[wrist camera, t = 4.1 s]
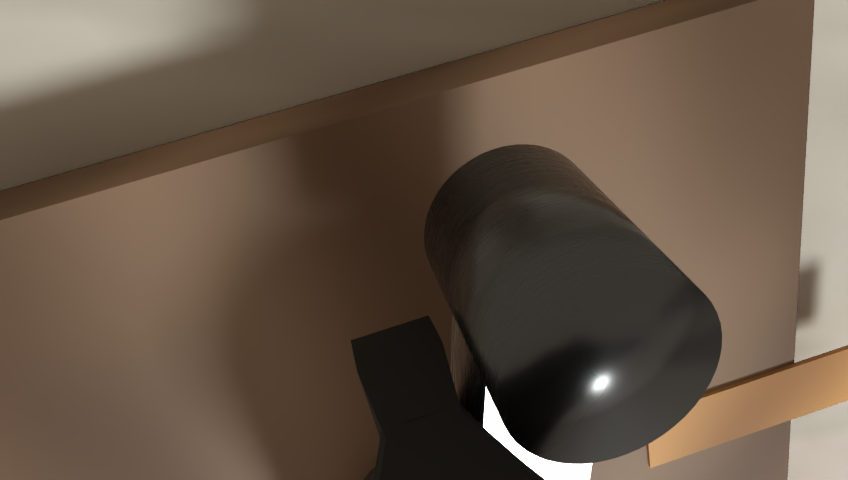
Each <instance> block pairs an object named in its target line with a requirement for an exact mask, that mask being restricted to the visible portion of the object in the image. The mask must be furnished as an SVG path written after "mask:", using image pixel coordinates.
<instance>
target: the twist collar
mask: <svg viewBox="0 0 848 480" xmlns="http://www.w3.org/2000/svg"><path fill="white" fill-rule="evenodd" d="M424 246H425V251H426V256H427V258H428V261H429V264H430V266H431V268H432V270H433V272H434V275H435V277H436V279H437V281H438V283H439V285H440V288H441V290H442V292H443V294H444V296H445V299H446V301H447V303H448V305H449V307H450V309H451V312H452V344H451V374H452V378H453V382H454V385H455V389H456V393H457V396H458V400H459V403H460V404H461V405H462V406H463V407H464V408H465V409H466V410H467V411H468V412H469V413H470V414H471V415H472V416H473V417H474V418H475V419H476V420H477V421H478V422H479V423H480V424H481V425H482V426H483V427H484V428H485V429H486V430H487V431H488V432H489V433H490V434H492V435H493V436H494V437H495V438H496V439H497V440H498V441H500V442H501V443H502V444H503V445H504V446H505V447H506V448H508V449H509V450H510V451H511V452H512V453H513V454H514V455H516V456H517V457H518V458H519V459H520V460H522V461H523V462H524V463H525V464H526V465H528V466H529V467H530V468H531V469H533V470H534V471H535V472H536V473H538V474H539V475H540V476H541V477H543V478H544V479H545V480H590V474H591V467H592V463H596V462H601V461H606V460H610V459H614V458H617V457H620V456H623V455H626V454H628V453H631V452H633V451H636V450H638V449H640V448H642V447H644V446H646V445H648V444H649V443H651V442H653V441H654V440H656V439H658V438H659V437H661V436H662V435H664V434H665V433H666V432H668V431H669V430H670V429H672V428H673V427H674V426H675V425H676V424H678V423H679V422H680V421H681V420H682V419H683V418H684V417H685V416H686V415H687V414H688V413H689V412H690V411H691V410H692V408H693V407H694V406H695V405H696V404H697V402H698V401H699V400H700V398H701V397H702V396H703V394H704V393H705V391H706V389H707V388H708V386H709V384H710V383H711V380H712V378H713V376H714V374H715V372H716V369H717V366H718V363H719V359H720V354H721V349H722V330H721V323H720V320H719V317H718V314H717V311H716V309H715V308H714V306H713V304H712V302H711V301H710V300H709V298H708V297H707V296H706V295H705V294H704V293H703V292H702V291H701V290H700V289H699V288H698V287H697V286H696V285H695V284H694V283H693V282H692V281H691V280H690V279H689V278H688V277H687V276H686V275H685V274H684V273H683V272H682V271H681V270H680V269H679V268H678V267H677V266H676V265H675V264H674V263H673V262H672V261H671V260H670V259H669V258H668V257H667V256H666V255H665V254H664V253H663V252H662V251H661V250H660V249H659V248H658V247H657V246H656V245H655V244H654V243H653V242H652V241H651V240H650V239H649V238H648V237H647V236H646V235H645V234H644V233H643V232H642V231H641V230H640V229H639V228H638V227H637V226H636V225H635V224H634V223H633V222H632V221H631V220H630V219H629V218H628V217H627V216H626V215H625V214H624V213H623V212H622V211H621V210H620V209H619V208H618V207H617V206H616V205H615V204H614V203H613V202H612V201H611V200H610V199H609V198H608V197H607V196H606V195H605V194H604V193H603V192H602V191H601V190H600V189H599V188H598V187H597V186H596V185H595V184H594V183H593V182H592V181H591V180H590V179H589V178H588V177H587V176H586V175H585V174H584V173H583V172H582V171H581V170H580V169H579V168H578V167H577V166H576V165H575V164H574V163H573V162H572V161H571V160H569V159H568V158H567V157H565V156H564V155H562V154H561V153H559V152H557V151H554V150H552V149H550V148H546V147H542V146H538V145H530V144H516V145H509V146H503V147H499V148H496V149H492V150H490V151H487V152H485V153H482V154H480V155H478V156H477V157H475V158H473V159H471V160H469V161H468V162H467V163H465V164H464V165H462V166H461V167H460V168H459V169H457V170H456V171H455V172H454V173H453V174H452V175H451V176H450V177H449V178H448V179H447V180H446V182H445V183H444V184H443V185H442V187H441V188H440V190H439V191H438V192H437V194H436V196H435V198H434V200H433V201H432V203H431V206H430V208H429V211H428V214H427V217H426V222H425V228H424Z"/></svg>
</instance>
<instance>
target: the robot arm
mask: <svg viewBox="0 0 848 480" xmlns="http://www.w3.org/2000/svg"><path fill="white" fill-rule="evenodd" d="M351 344H352V349H353V355H354V359H355V364H356V368H357V373H358V376H359V378H360V381H361V384H362V387H363V390H364V393H365V396H366V399H367V401H368V404H369V407H370V410H371V413H372V416H373V419H374V422H375V425H376V427H377V430H378V433H379V436H380V441H379V448H378V455H377V460H376V466H375V471H374V477H373V480H545V479H544V478H543V477H541V476H540V475H539V474H538V473H536V472H535V471H534V470H533V469H531V468H530V467H529V466H528V465H526V464H525V463H524V462H523V461H522V460H520V459H519V458H518V457H517V456H516V455H514V454H513V453H512V452H511V451H510V450H509V449H508V448H506V447H505V446H504V445H503V444H502V443H501V442H500V441H498V440H497V439H496V438H495V437H494V436H493V435H492V434H490V433H489V432H488V431H487V430H486V429H485V428H484V427H483V426H482V425H481V424H480V423H479V422H478V421H477V420H476V419H475V418H474V417H473V416H472V415H471V414H470V413H469V412H468V411H467V410H466V409H465V408H464V407H463V406H462V405H461V404H460V403H459V400H458V396H457V393H456V389H455V385H454V382H453V378H452V374H451V371H450V367H449V363H448V360H447V356H446V352H445V349H444V345H443V342H442V340H441V338H440V336H439V334H438V332H437V330H436V328H435V327H434V325H433V323H432V321H431V319H430V317H429V315H427V316H424V317H421V318H418V319H415V320H412V321H409V322H406V323H403V324H400V325H397V326H393V327H390V328H387V329H384V330H381V331H378V332H375V333H372V334H369V335H366V336H363V337H360V338H356V339H353V340H351Z"/></svg>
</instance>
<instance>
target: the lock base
mask: <svg viewBox="0 0 848 480" xmlns="http://www.w3.org/2000/svg"><path fill="white" fill-rule="evenodd" d="M813 17H814V0H666V1H662V2H659V3H655V4H652V5H648V6H645V7H641V8H638V9H634V10H631V11H627V12H624V13H620V14H617V15H613V16H610V17H606V18H603V19H599V20H596V21H592V22H589V23H585V24H582V25H578V26H575V27H572V28H568V29H565V30H561V31H558V32H554V33H551V34H547V35H544V36H540V37H537V38H533V39H530V40H526V41H523V42H519V43H516V44H512V45H509V46H505V47H502V48H498V49H495V50H491V51H488V52H484V53H481V54H477V55H474V56H470V57H467V58H464V59H460V60H457V61H453V62H450V63H446V64H443V65H439V66H436V67H432V68H429V69H425V70H422V71H418V72H415V73H411V74H408V75H404V76H401V77H397V78H394V79H390V80H387V81H383V82H380V83H376V84H373V85H369V86H366V87H362V88H359V89H356V90H352V91H349V92H345V93H342V94H338V95H335V96H331V97H328V98H324V99H321V100H317V101H314V102H310V103H307V104H303V105H300V106H296V107H293V108H289V109H286V110H282V111H279V112H275V113H272V114H268V115H265V116H261V117H258V118H254V119H251V120H248V121H244V122H241V123H237V124H234V125H230V126H227V127H223V128H220V129H216V130H213V131H209V132H206V133H202V134H199V135H195V136H192V137H188V138H185V139H181V140H178V141H174V142H171V143H167V144H164V145H160V146H157V147H153V148H150V149H146V150H143V151H140V152H136V153H133V154H129V155H126V156H122V157H119V158H115V159H112V160H108V161H105V162H101V163H98V164H94V165H91V166H87V167H84V168H80V169H77V170H73V171H70V172H66V173H63V174H59V175H56V176H52V177H49V178H45V179H42V180H38V181H35V182H32V183H28V184H25V185H21V186H18V187H14V188H11V189H7V190H4V191H0V480H373V477H374V471H375V466H376V460H377V455H378V448H379V441H380V436H379V433H378V430H377V427H376V425H375V422H374V419H373V416H372V413H371V410H370V407H369V404H368V401H367V399H366V396H365V393H364V390H363V387H362V384H361V381H360V378H359V376H358V373H357V368H356V364H355V359H354V355H353V349H352V344H351V340H353V339H356V338H360V337H363V336H366V335H369V334H372V333H375V332H378V331H381V330H384V329H387V328H390V327H393V326H397V325H400V324H403V323H406V322H409V321H412V320H415V319H418V318H421V317H424V316H427V315H429V317H430V319H431V321H432V323H433V325H434V327H435V328H436V330H437V332H438V334H439V336H440V338H441V340H442V342H443V345H444V349H445V352H446V356H447V360H448V363H449V367H450V371H451V344H452V312H451V309H450V307H449V305H448V303H447V301H446V299H445V296H444V294H443V292H442V290H441V288H440V285H439V283H438V281H437V279H436V277H435V275H434V272H433V270H432V268H431V266H430V264H429V261H428V258H427V256H426V251H425V246H424V228H425V222H426V217H427V214H428V211H429V208H430V206H431V203H432V201H433V200H434V198H435V196H436V194H437V192H438V191H439V190H440V188H441V187H442V185H443V184H444V183H445V182H446V180H447V179H448V178H449V177H450V176H451V175H452V174H453V173H454V172H455V171H456V170H457V169H459V168H460V167H461V166H462V165H464V164H465V163H467V162H468V161H469V160H471V159H473V158H475V157H477V156H478V155H480V154H482V153H485V152H487V151H490V150H492V149H496V148H499V147H503V146H509V145H516V144H530V145H538V146H542V147H546V148H550V149H552V150H554V151H557V152H559V153H561V154H562V155H564V156H565V157H567V158H568V159H569V160H571V161H572V162H573V163H574V164H575V165H576V166H577V167H578V168H579V169H580V170H581V171H582V172H583V173H584V174H585V175H586V176H587V177H588V178H589V179H590V180H591V181H592V182H593V183H594V184H595V185H596V186H597V187H598V188H599V189H600V190H601V191H602V192H603V193H604V194H605V195H606V196H607V197H608V198H609V199H610V200H611V201H612V202H613V203H614V204H615V205H616V206H617V207H618V208H619V209H620V210H621V211H622V212H623V213H624V214H625V215H626V216H627V217H628V218H629V219H630V220H631V221H632V222H633V223H634V224H635V225H636V226H637V227H638V228H639V229H640V230H641V231H642V232H643V233H644V234H645V235H646V236H647V237H648V238H649V239H650V240H651V241H652V242H653V243H654V244H655V245H656V246H657V247H658V248H659V249H660V250H661V251H662V252H663V253H664V254H665V255H666V256H667V257H668V258H669V259H670V260H671V261H672V262H673V263H674V264H675V265H676V266H677V267H678V268H679V269H680V270H681V271H682V272H683V273H684V274H685V275H686V276H687V277H688V278H689V279H690V280H691V281H692V282H693V283H694V284H695V285H696V286H697V287H698V288H699V289H700V290H701V291H702V292H703V293H704V294H705V295H706V296H707V297H708V298H709V300H710V301H711V302H712V304H713V306H714V308H715V309H716V311H717V314H718V317H719V320H720V323H721V330H722V349H721V354H720V359H719V363H718V366H717V369H716V372H715V374H714V376H713V378H712V380H711V383H710V384H709V386H708V388H707V389H706V391H705V393H704V394H703V396H702V397H701V398H700V400H699V401H698V402H697V404H696V405H695V406H694V407H693V408H692V410H691V411H690V412H689V413H688V414H687V415H686V416H685V417H684V418H683V419H682V420H681V421H680V422H679V423H678V424H676V425H675V426H674V427H673V428H672V429H670V430H669V431H668V432H666V433H665V434H664V435H662V436H661V437H659V438H658V439H656V440H654V441H653V442H651V443H649V444H648V445H646V446H644V447H642V448H640V449H638V450H636V451H633V452H631V453H628V454H626V455H623V456H620V457H617V458H614V459H610V460H606V461H601V462H596V463H592V467H591V474H590V480H787V477H788V459H789V442H790V424H791V420H792V419H795V418H798V417H801V416H804V415H806V414H809V413H812V412H815V411H818V410H821V409H824V408H827V407H830V406H833V405H836V404H838V403H841V402H844V401H847V400H848V345H847V346H844V347H841V348H838V349H835V350H832V351H829V352H826V353H823V354H820V355H817V356H814V357H811V358H808V359H805V360H802V361H799V362H797V363H794V353H795V335H796V318H797V300H798V282H799V264H800V247H801V229H802V211H803V194H804V176H805V158H806V141H807V123H808V105H809V88H810V70H811V52H812V34H813Z"/></svg>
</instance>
